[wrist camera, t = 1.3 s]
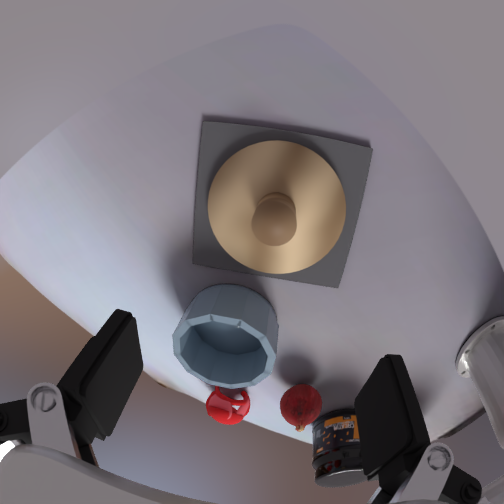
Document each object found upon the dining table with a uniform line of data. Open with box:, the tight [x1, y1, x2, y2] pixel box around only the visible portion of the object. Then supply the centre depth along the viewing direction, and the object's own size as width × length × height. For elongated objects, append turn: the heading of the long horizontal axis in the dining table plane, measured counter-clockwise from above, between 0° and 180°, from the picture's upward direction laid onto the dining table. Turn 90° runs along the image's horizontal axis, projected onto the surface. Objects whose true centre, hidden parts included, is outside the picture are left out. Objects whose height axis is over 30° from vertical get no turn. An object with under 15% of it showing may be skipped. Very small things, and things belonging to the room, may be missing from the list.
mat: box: [193, 121, 373, 288], centre depth 27 cm, size 16×15×1 cm
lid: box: [208, 140, 346, 274], centre depth 24 cm, size 13×13×5 cm
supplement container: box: [312, 409, 367, 487], centre depth 36 cm, size 10×10×12 cm
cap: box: [206, 386, 250, 425], centre depth 38 cm, size 8×6×6 cm
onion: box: [280, 384, 322, 432], centre depth 34 cm, size 6×6×8 cm
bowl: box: [172, 284, 279, 389], centre depth 31 cm, size 11×11×6 cm
